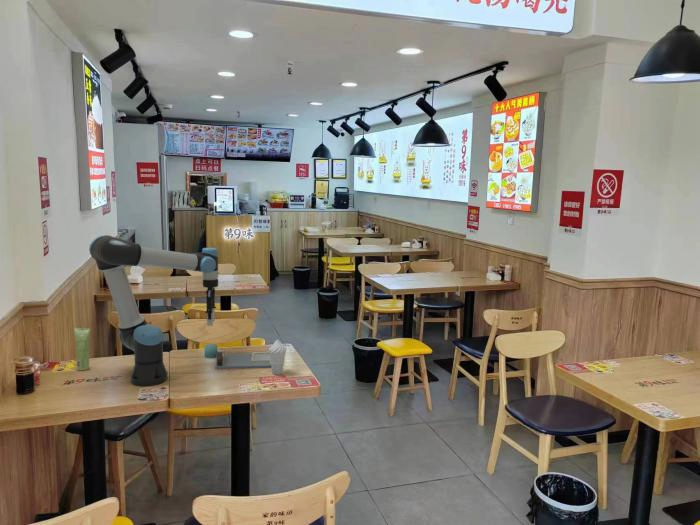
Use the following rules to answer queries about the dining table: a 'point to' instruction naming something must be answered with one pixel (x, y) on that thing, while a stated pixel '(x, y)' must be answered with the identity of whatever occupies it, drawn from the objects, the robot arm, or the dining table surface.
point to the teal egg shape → (211, 350)
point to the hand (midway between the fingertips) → (210, 323)
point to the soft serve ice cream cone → (277, 357)
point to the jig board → (245, 360)
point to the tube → (82, 348)
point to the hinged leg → (220, 356)
